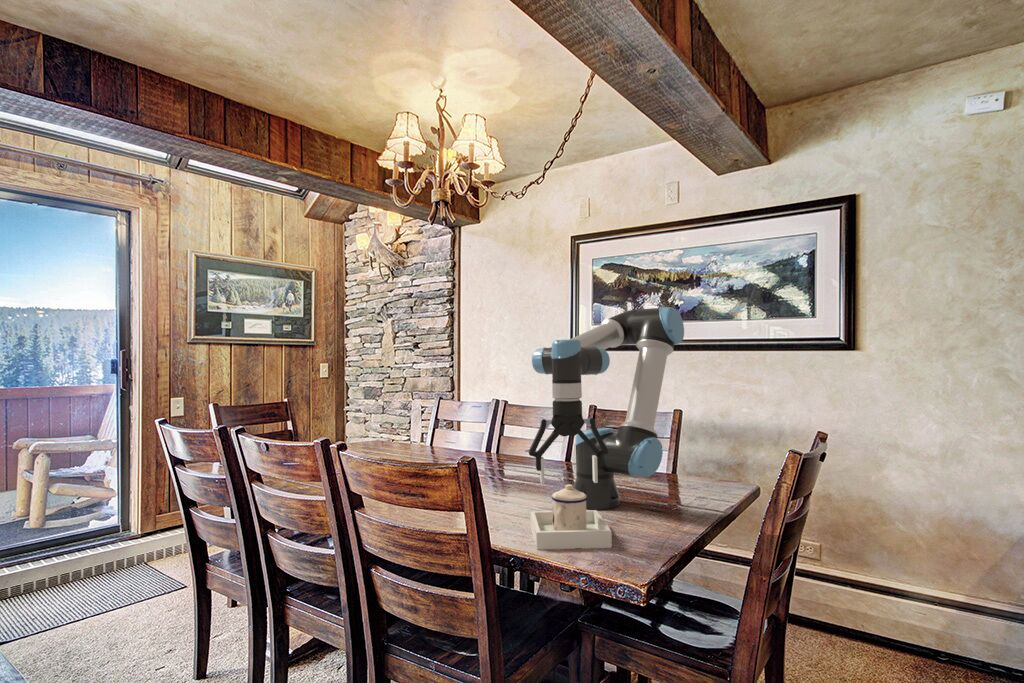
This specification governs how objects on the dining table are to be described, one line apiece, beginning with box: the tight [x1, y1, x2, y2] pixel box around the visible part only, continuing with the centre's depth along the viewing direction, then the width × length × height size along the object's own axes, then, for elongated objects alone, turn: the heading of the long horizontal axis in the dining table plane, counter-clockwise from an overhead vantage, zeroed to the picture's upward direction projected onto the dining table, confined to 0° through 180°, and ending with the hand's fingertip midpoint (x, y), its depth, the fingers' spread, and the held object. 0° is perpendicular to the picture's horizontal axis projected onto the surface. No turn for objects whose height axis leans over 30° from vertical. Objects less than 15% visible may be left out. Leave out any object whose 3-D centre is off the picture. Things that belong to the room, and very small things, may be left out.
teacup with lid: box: [551, 484, 587, 531], centre depth 140 cm, size 12×9×12 cm
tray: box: [530, 509, 613, 550], centre depth 139 cm, size 18×18×4 cm
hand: (568, 482), depth 140 cm, fingers open, 13 cm apart
